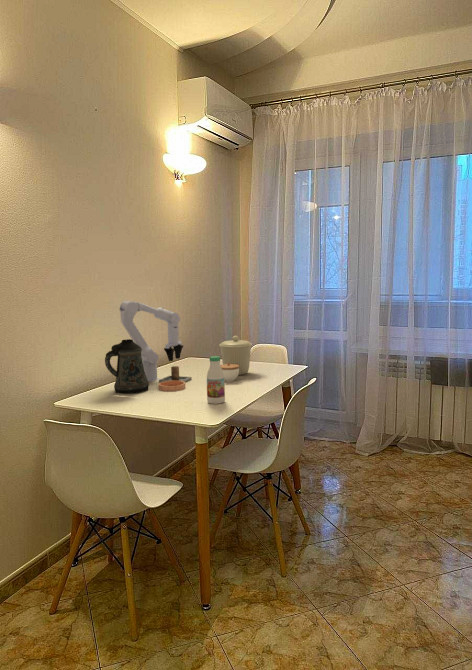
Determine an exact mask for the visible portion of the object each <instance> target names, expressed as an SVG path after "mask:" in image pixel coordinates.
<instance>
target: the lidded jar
mask: <svg viewBox="0 0 472 670" xmlns="http://www.w3.org/2000/svg"><path fill="white" fill-rule="evenodd" d="M220 366H221V368H222V370H223V373H224V382H225V381H226V382H228V383H229V382H230V383H231V382H232V383H233V382H235V381H236V379H237V378H238V377H239V375H238V374H239V365H237V364H230V363H228V364H223V363H222V364H220ZM226 382H225V383H226Z"/></svg>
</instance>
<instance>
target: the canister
mask: <svg viewBox="0 0 472 670" xmlns="http://www.w3.org/2000/svg"><path fill="white" fill-rule="evenodd" d="M218 345H219V348H220V354H221V360H222V361H221V362H222V365H223V364H228V363H230V364H237V365H239V374H238V376H242V375H247V374H248V372H249V370H250V362H251V350H252V345H253V343H252V342H250V341H249V340H243V339H242V340H241V339H240V338H239V336H238V335H234V336H232V340H226V341H222V342H221V343H220V344H218Z"/></svg>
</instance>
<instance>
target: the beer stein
mask: <svg viewBox="0 0 472 670" xmlns="http://www.w3.org/2000/svg"><path fill="white" fill-rule="evenodd" d="M141 352H142V348H141V347H140V346H139V345H137V344H136V343H134V341H133V340H132V338H131V339H130V338H129V339H128V338H127V339H123V340H121V342H119V343H117V344H116V343H115V344H113V345H112V346H111V348H110V350H109V351H108V352H107V353H106V354H105V357H104V364H105V368H106V369H107V370H108V372H109V373H111V375H112V376H114V377H116V378H115V382H114V385H113V387H114V392H115V393H116V394H122V395H123V394H124V395H133V394H139V393H140V394H141V393H144V392H147V391H148V390H149V387H150V381H148V380H147V378H146V374H145V371H144V367H143V361H142V357H141ZM112 357H117V363H116V369H115V368H114V367H113V366H112V364H111V359H112Z"/></svg>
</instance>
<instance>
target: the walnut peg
mask: <svg viewBox="0 0 472 670" xmlns="http://www.w3.org/2000/svg"><path fill="white" fill-rule="evenodd" d="M170 374H171V375H170V376H171V377H172V380H173V381H179V376H180V366H177V365H176V366H175V365H173V366H170Z"/></svg>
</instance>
